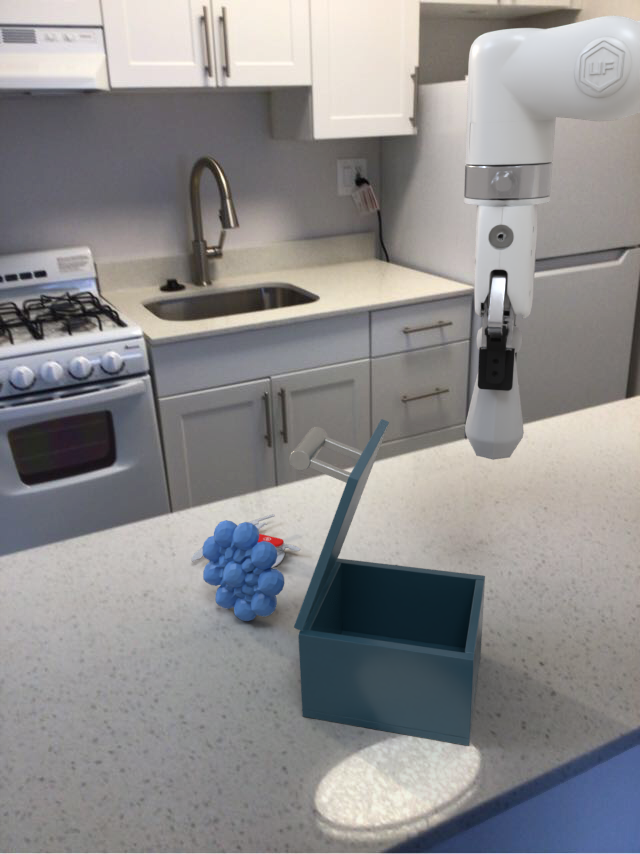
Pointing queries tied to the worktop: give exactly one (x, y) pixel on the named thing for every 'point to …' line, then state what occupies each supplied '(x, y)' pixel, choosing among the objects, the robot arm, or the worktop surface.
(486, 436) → the salt shaker
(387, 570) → the teal box
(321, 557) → the lid
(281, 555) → the swiss army knife
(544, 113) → the robot arm
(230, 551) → the grapes
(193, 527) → the worktop surface
